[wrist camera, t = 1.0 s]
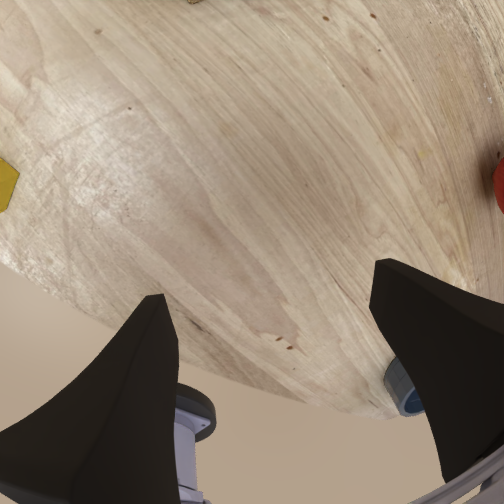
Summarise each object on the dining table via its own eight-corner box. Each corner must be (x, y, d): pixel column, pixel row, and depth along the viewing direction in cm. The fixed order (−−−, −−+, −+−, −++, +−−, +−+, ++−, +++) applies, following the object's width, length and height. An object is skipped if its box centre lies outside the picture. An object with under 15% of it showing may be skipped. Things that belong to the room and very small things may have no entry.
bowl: (405, 397, 30) (418, 421, 27) (368, 379, 26) (383, 409, 23) (463, 344, 28) (481, 366, 24) (440, 312, 24) (463, 339, 20)
